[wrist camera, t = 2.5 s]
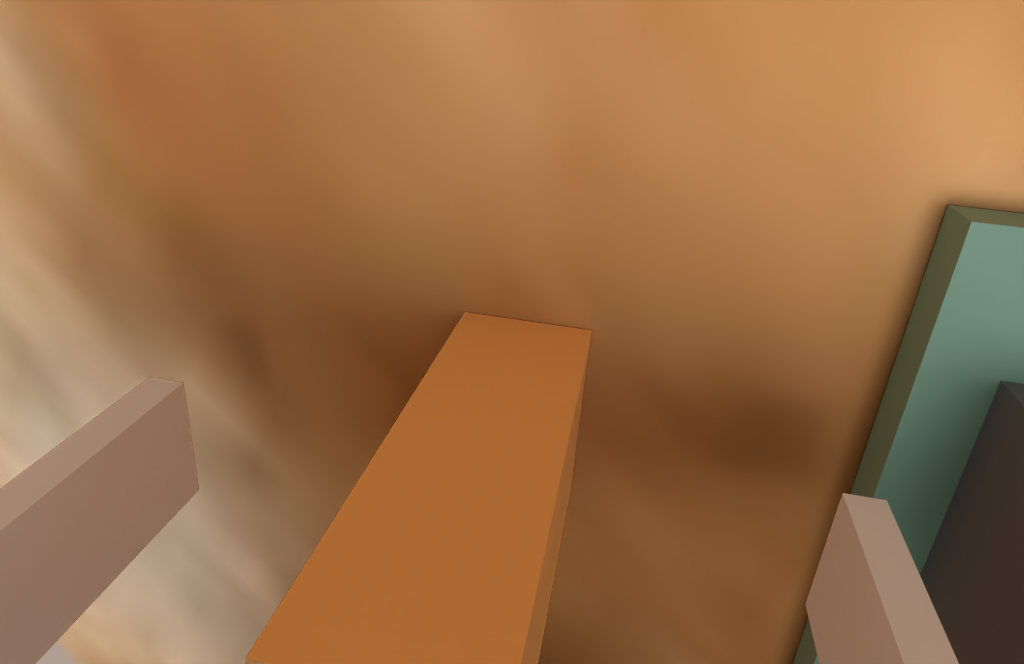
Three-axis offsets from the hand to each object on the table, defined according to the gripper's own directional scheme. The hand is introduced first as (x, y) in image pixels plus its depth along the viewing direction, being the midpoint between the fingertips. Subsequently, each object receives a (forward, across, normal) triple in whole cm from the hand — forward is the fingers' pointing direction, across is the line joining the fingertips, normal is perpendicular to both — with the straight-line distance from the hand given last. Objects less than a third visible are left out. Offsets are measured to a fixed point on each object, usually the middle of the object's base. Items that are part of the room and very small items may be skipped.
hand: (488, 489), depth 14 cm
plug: (+4, 0, 0) cm, 4 cm away
